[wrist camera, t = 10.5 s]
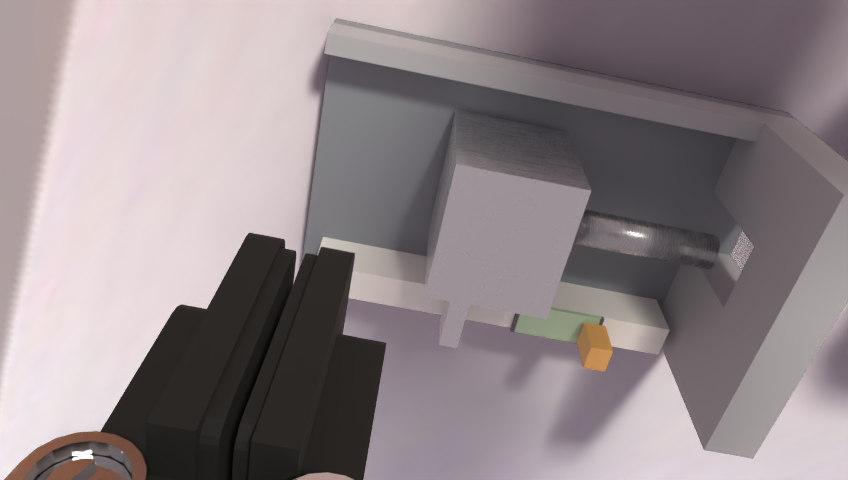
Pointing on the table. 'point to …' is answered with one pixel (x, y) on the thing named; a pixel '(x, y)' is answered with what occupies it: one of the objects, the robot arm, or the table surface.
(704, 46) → the table surface
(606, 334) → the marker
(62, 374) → the table surface
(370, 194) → the track
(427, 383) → the table surface
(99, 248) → the table surface
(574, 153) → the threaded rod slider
